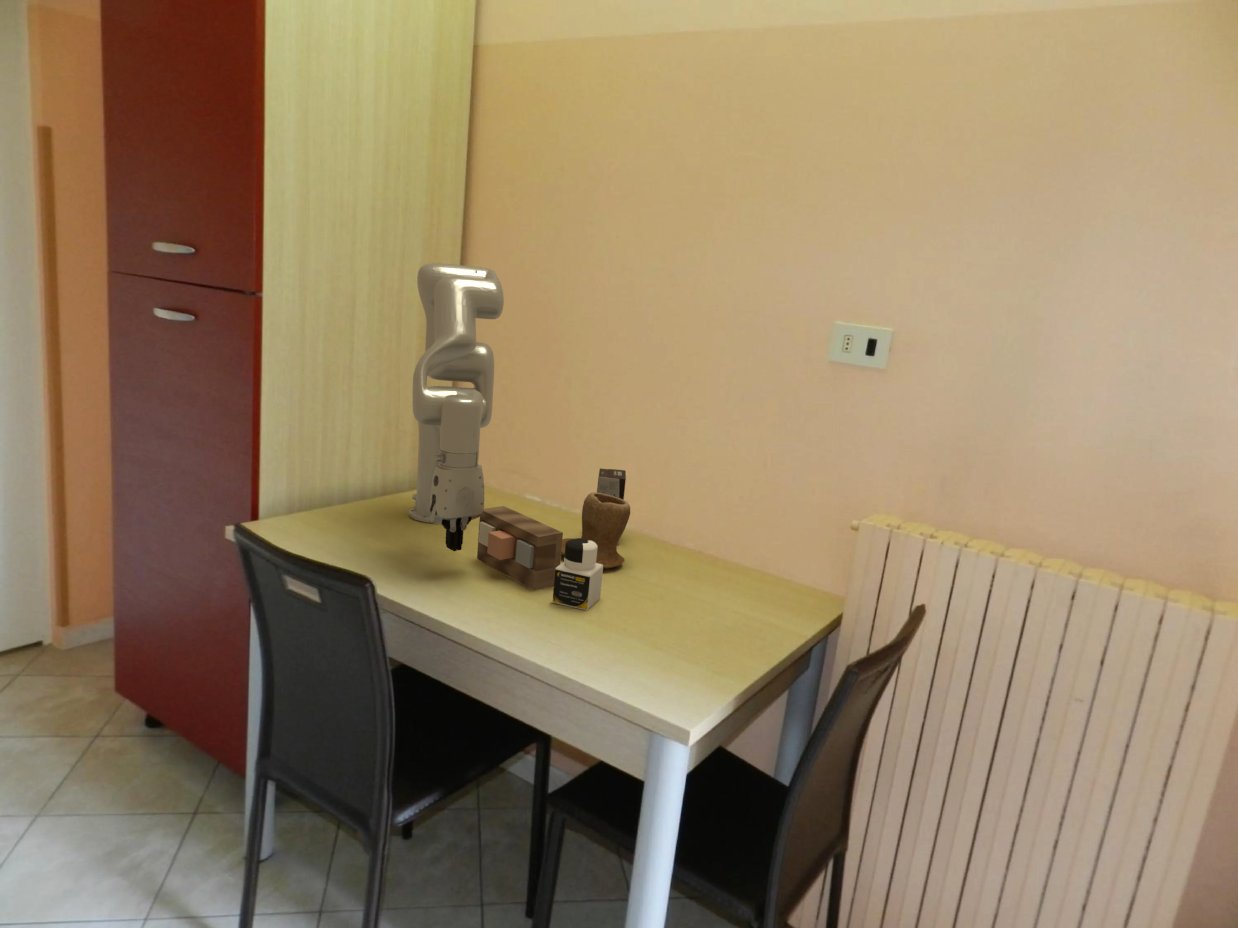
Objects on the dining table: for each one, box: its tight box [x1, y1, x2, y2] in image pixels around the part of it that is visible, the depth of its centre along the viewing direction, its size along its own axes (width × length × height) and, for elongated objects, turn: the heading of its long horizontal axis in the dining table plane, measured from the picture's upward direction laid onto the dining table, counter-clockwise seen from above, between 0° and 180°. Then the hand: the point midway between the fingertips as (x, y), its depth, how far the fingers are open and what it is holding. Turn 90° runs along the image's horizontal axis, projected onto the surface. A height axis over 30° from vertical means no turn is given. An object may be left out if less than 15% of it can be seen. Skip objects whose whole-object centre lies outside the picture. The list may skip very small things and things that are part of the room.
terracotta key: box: [487, 530, 515, 560], centre depth 170 cm, size 4×4×4 cm
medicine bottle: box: [552, 537, 604, 611], centre depth 161 cm, size 7×7×12 cm
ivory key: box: [478, 521, 496, 547], centre depth 176 cm, size 4×4×4 cm
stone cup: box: [561, 491, 631, 569], centre depth 184 cm, size 15×12×15 cm
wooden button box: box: [476, 505, 564, 591], centre depth 173 cm, size 20×6×11 cm, turn 43°
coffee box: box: [596, 468, 627, 546], centre depth 200 cm, size 9×6×16 cm
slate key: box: [515, 539, 535, 568], centre depth 167 cm, size 4×4×4 cm
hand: (453, 548), depth 169 cm, fingers closed
